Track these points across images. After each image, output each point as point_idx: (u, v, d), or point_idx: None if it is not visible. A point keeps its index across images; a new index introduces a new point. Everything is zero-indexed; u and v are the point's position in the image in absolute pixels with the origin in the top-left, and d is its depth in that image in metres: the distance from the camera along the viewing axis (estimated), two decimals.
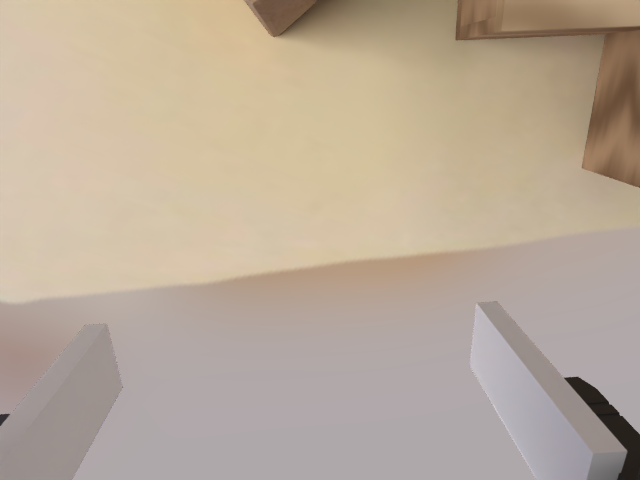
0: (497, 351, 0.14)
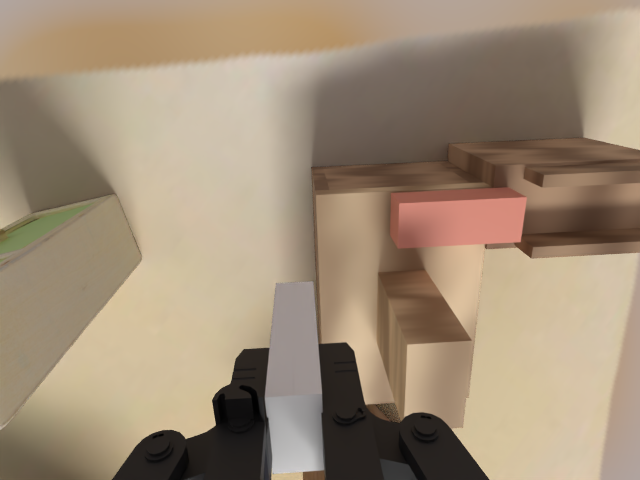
0: None
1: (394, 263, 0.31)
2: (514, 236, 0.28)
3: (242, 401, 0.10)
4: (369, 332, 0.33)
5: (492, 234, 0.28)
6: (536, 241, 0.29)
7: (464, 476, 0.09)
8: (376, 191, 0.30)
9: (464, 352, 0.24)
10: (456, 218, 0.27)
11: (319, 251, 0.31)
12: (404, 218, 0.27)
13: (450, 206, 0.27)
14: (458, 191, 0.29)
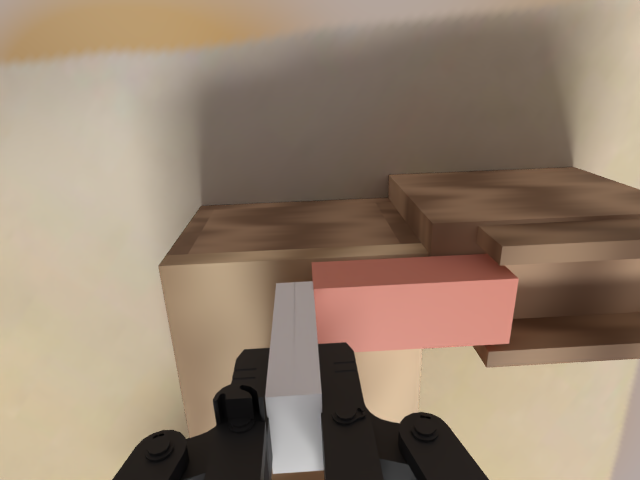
0: None
1: None
2: (498, 335, 0.18)
3: (242, 401, 0.10)
4: None
5: (464, 333, 0.18)
6: None
7: (464, 476, 0.09)
8: (253, 259, 0.19)
9: None
10: (406, 310, 0.17)
11: (174, 345, 0.21)
12: (323, 311, 0.17)
13: (396, 293, 0.17)
14: (414, 261, 0.19)
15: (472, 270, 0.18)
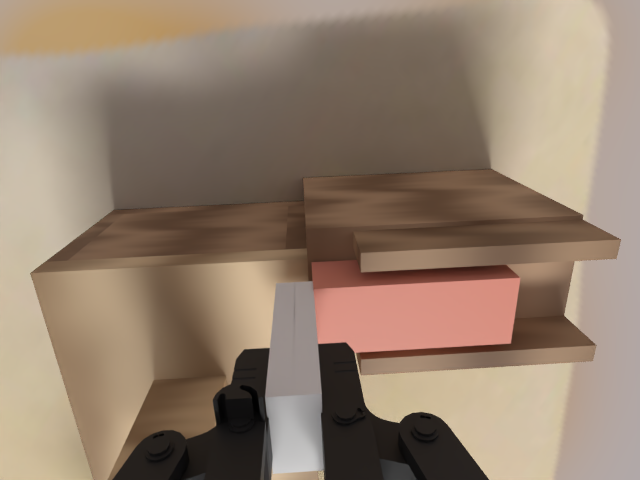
0: None
1: (177, 367, 0.21)
2: (500, 335, 0.18)
3: (242, 401, 0.10)
4: None
5: (466, 333, 0.18)
6: None
7: (464, 476, 0.09)
8: (128, 266, 0.19)
9: None
10: (407, 310, 0.17)
11: (56, 352, 0.20)
12: (323, 311, 0.17)
13: (397, 293, 0.17)
14: None
15: (473, 269, 0.18)
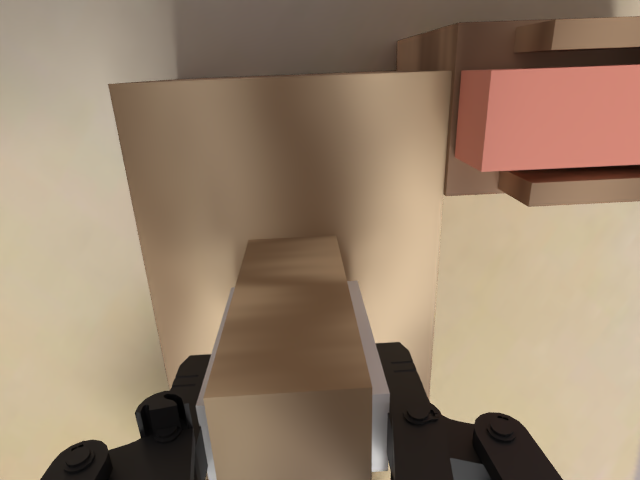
0: None
1: (278, 222, 0.17)
2: None
3: (167, 410, 0.10)
4: None
5: None
6: (538, 175, 0.15)
7: None
8: None
9: (355, 416, 0.09)
10: (605, 107, 0.13)
11: (133, 199, 0.16)
12: (498, 106, 0.13)
13: (596, 79, 0.13)
14: (594, 65, 0.15)
15: None
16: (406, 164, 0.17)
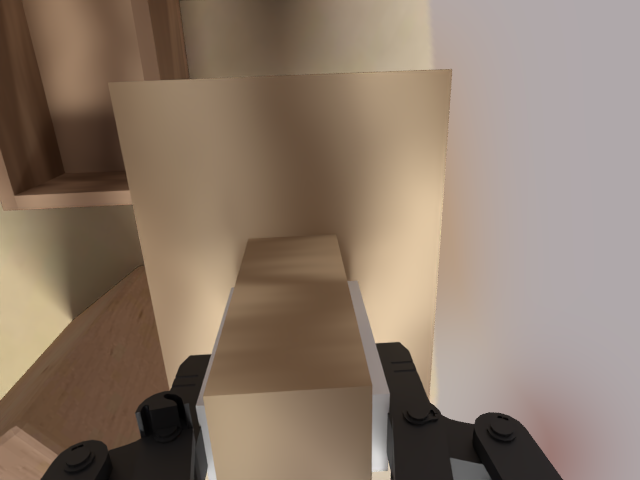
0: None
1: (278, 221, 0.17)
2: None
3: (167, 410, 0.10)
4: None
5: None
6: None
7: None
8: (229, 78, 0.15)
9: (356, 414, 0.09)
10: None
11: (133, 198, 0.16)
12: None
13: None
14: None
15: None
16: (406, 162, 0.16)
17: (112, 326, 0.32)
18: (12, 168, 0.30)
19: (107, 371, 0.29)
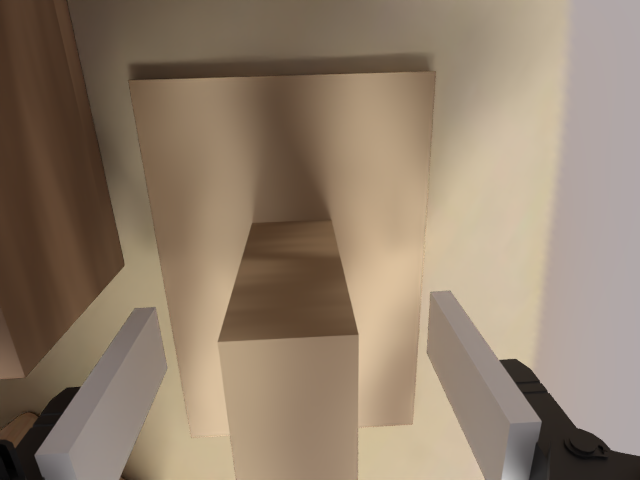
0: (445, 336, 0.15)
1: (279, 207, 0.19)
2: None
3: None
4: None
5: None
6: None
7: None
8: (236, 77, 0.17)
9: (345, 360, 0.11)
10: None
11: (148, 184, 0.18)
12: None
13: None
14: None
15: None
16: (394, 155, 0.18)
17: None
18: None
19: None
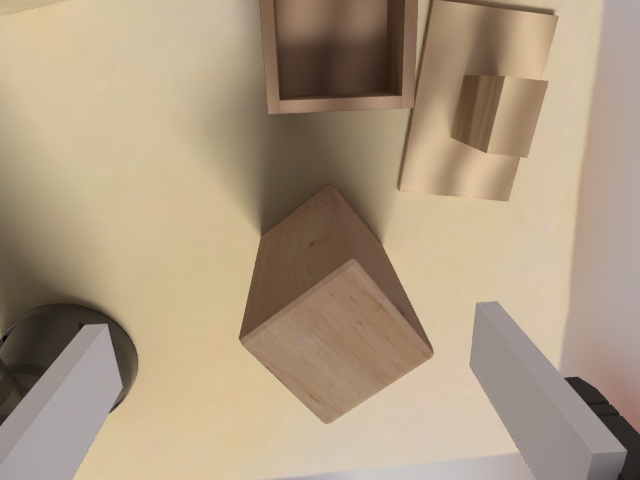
0: (497, 351, 0.14)
1: (478, 69, 0.42)
2: None
3: None
4: (447, 127, 0.44)
5: None
6: None
7: None
8: (476, 5, 0.40)
9: (541, 90, 0.34)
10: None
11: (425, 48, 0.41)
12: None
13: None
14: None
15: None
16: (533, 51, 0.42)
17: (346, 217, 0.37)
18: (278, 77, 0.35)
19: (363, 245, 0.34)
